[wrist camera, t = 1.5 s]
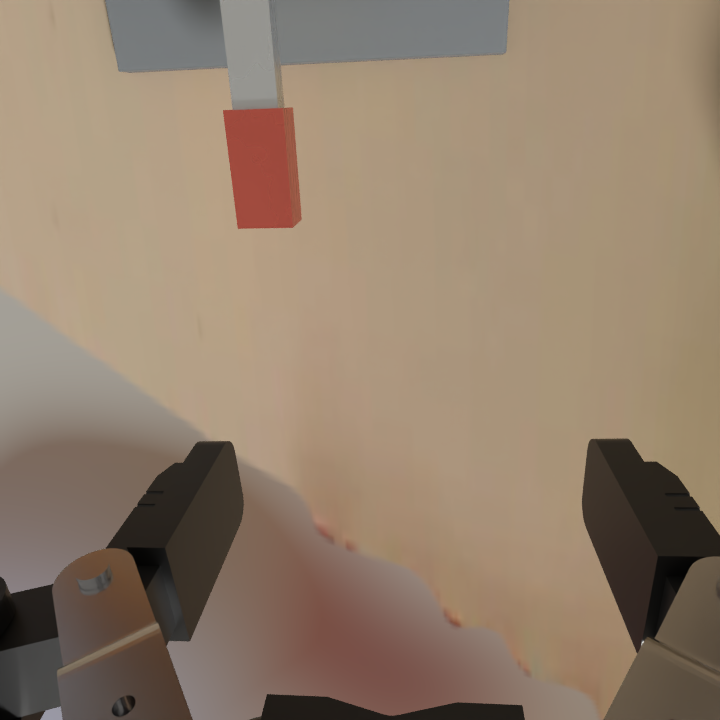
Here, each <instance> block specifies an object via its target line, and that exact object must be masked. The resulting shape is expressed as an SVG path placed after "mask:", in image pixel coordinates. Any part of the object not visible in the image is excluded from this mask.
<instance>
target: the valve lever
mask: <svg viewBox="0 0 720 720" xmlns="http://www.w3.org/2000/svg"><path fill="white" fill-rule="evenodd" d="M220 7H221V16H222V24H223V32H224V41H225V49H226V57H227V66H228V74H229V83H230V91H231V99H232V108H233V110H223V114H224V122H225V130H226V138H227V146H228V154H229V162H230V170H231V177H232V185H233V193H234V201H235V209H236V217H237V225H238V229H241V228H293V227H294V226H295V225H296V224H297V223H298V222H299V221H300V220H301V219H302V218H301V206H300V193H299V180H298V168H297V155H296V142H295V130H294V117H293V108H284V98H283V86H282V75H281V63H280V51H279V39H278V27H277V15H276V3H275V0H220Z"/></svg>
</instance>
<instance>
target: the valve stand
mask: <svg viewBox="0 0 720 720" xmlns="http://www.w3.org/2000/svg"><path fill="white" fill-rule="evenodd" d="M105 2H106V7H107V12H108V17H109V23H110V28H111V33H112V38H113V44H114V49H115V54H116V59H117V64H118V70H119V71H120V72H129V73H132V72H152V71H173V70H193V69H214V68H228V66H227V57H226V49H225V41H224V32H223V24H222V16H221V7H220V0H105ZM275 3H276V15H277V27H278V39H279V51H280V63H281V65H295V64H316V63H336V62H357V61H377V60H398V59H418V58H438V57H459V56H479V55H500V54H504V53H506V45H507V28H508V12H509V0H275Z"/></svg>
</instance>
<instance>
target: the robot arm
mask: <svg viewBox="0 0 720 720" xmlns="http://www.w3.org/2000/svg"><path fill="white" fill-rule="evenodd" d="M146 492H147V493H146V494H144V495H143V497H142V498H141V500H140V501H139V502H138V506H137V507H135V508H134V509H133V511H132V512H131V514H130V515H129V516H128V518H127V519H126V521H125V522H124V523H123V525H122V526H121V528H120V529H119V531H118V532H117V533H116V535H115V536H114V537H113V539H112V540H111V542H110V543H109V545H108V546H107V547H106V549H101V550H97V551H94V552H91V553H88V554H86V555H84V556H82V557H80V558H78V559H76V560H75V561H73V562H72V563H70V564H69V565H68V566H67V567H65V568H64V569H63V570H62V571H61V572H60V574H59V575H58V577H57V578H56V579H55V581H54V584H52V585H48V586H43V587H39V588H34V589H30V590H25V591H21V592H16V593H12V594H10V592H9V590H8V587H7V585H6V583H5V581H4V579H3V578H1V577H0V720H40V719H41V717H42V715H43V714H44V712H45V710H49V709H52V708H56V707H60V706H61V711H62V717H63V720H193V719H192V717H191V714H190V711H189V708H188V705H187V702H186V700H185V697H184V694H183V691H182V688H181V685H180V683H179V680H178V677H177V675H176V671H175V669H174V666H173V663H172V660H171V658H170V655H169V652H168V649H167V644H168V642H169V641H190V640H191V637H192V635H193V633H194V630H195V628H196V626H197V623H198V621H199V619H200V616H201V614H202V612H203V609H204V607H205V605H206V602H207V600H208V598H209V595H210V593H211V591H212V589H213V586H214V584H215V581H216V579H217V577H218V574H219V572H220V570H221V568H222V565H223V563H224V560H225V558H226V556H227V554H228V551H229V549H230V547H231V544H232V542H233V540H234V537H235V535H236V532H237V530H238V528H239V526H240V523H241V520H242V515H243V505H244V504H243V493H242V487H241V482H240V476H239V471H238V466H237V460H236V455H235V450H234V446H233V444H232V443H231V442H230V441H206V442H205V441H203V442H197V443H196V444H195V446H194V447H193V449H192V450H191V452H190V453H189V455H188V456H187V458H186V459H185V461H184V462H183V463H174V464H173V465H172V466H170V467H169V468H168V469H166V470H165V471H164V472H162V473H161V474H159V475H158V476H157V477H156V478H155V480H154V481H153V483H152V484H151V485H150V487H149V488H148V490H147V491H146ZM582 510H583V518H584V522H585V526H586V529H587V531H588V534H589V536H590V538H591V541H592V543H593V546H594V548H595V551H596V553H597V556H598V558H599V561H600V563H601V566H602V568H603V571H604V573H605V575H606V578H607V580H608V583H609V585H610V588H611V590H612V593H613V595H614V598H615V600H616V603H617V605H618V607H619V610H620V612H621V615H622V617H623V620H624V622H625V625H626V627H627V630H628V632H629V635H630V637H631V640H632V642H633V644H634V647H635V649H636V652H637V656H636V658H635V659H634V661H633V663H632V665H631V667H630V669H629V671H628V673H627V675H626V677H625V679H624V681H623V683H622V685H621V687H620V689H619V690H618V692H617V694H616V696H615V698H614V700H613V702H612V704H611V706H610V708H609V710H608V712H607V714H606V716H605V718H604V720H720V535H719V534H718V532H717V531H716V530H715V528H714V527H713V525H712V524H711V523H710V521H709V520H708V518H707V517H706V516H705V514H704V513H703V511H700V507H699V506H698V504H697V503H696V502H695V500H694V499H693V497H690V493H689V492H688V490H687V489H686V488H685V486H684V485H683V483H682V482H681V481H680V479H679V478H678V476H676V475H675V474H673V473H672V472H671V471H669V470H668V469H666V468H665V467H663V466H662V465H661V464H659V463H658V462H644V461H643V459H642V458H641V456H640V455H639V453H638V452H637V450H636V449H635V447H634V445H633V444H632V442H631V441H630V440H629V439H591V440H590V442H589V444H588V450H587V458H586V468H585V477H584V486H583V495H582ZM250 720H525V718H524V713H523V707H522V705H502V704H479V703H452V704H448V705H444V706H438V707H434V708H429V709H424V710H420V711H415V712H411V713H406V714H401V715H396V716H388V715H383V714H380V713H377V712H374V711H371V710H367V709H364V708H361V707H358V706H355V705H352V704H348V703H345V702H342V701H339V700H335V699H332V698H329V697H318V696H317V697H315V696H294V695H271V694H270V695H269V694H267V697H266V700H265V705H264V708H263V712H262V716H261V717H256V718H253V719H250Z"/></svg>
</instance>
